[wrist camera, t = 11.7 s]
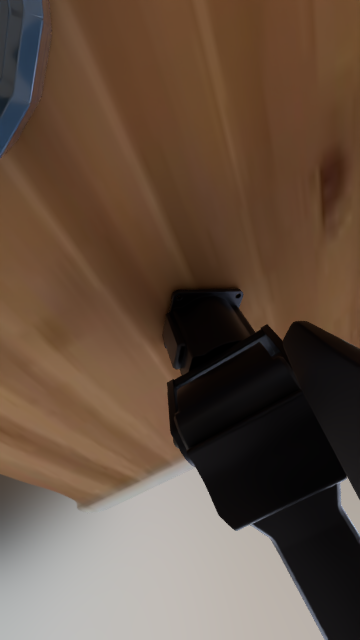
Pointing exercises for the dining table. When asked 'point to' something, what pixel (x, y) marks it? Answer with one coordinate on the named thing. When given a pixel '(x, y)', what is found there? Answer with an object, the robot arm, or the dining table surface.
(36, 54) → the bowl
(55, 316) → the dining table surface
